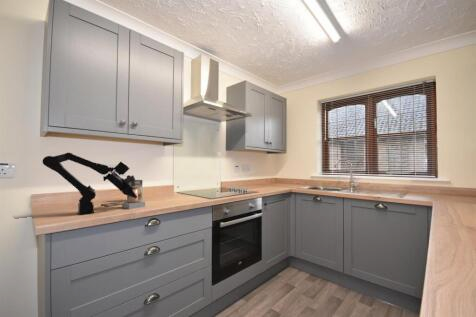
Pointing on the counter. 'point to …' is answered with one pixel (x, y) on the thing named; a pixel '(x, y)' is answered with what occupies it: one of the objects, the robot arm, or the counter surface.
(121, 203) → the trivet
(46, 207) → the counter surface
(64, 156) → the robot arm
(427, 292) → the counter surface
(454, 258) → the counter surface
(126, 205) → the holder
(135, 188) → the jar
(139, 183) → the coffee box
